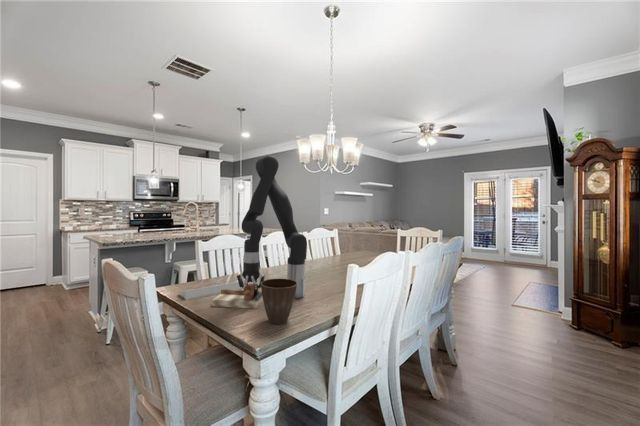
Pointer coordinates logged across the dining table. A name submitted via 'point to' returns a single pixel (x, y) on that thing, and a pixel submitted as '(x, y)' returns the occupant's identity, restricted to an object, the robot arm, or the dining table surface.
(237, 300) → the board
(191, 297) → the decorative molding
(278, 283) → the plant pot
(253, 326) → the dining table surface
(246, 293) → the reddish-brown block with stick
